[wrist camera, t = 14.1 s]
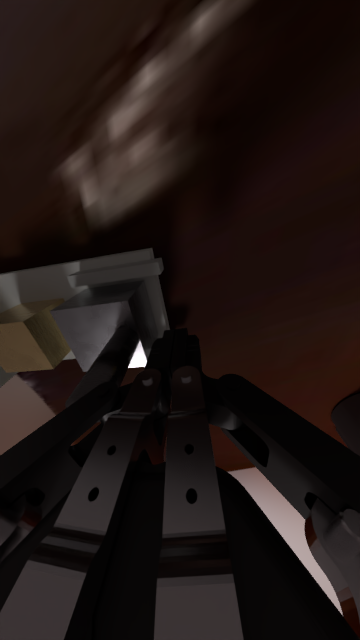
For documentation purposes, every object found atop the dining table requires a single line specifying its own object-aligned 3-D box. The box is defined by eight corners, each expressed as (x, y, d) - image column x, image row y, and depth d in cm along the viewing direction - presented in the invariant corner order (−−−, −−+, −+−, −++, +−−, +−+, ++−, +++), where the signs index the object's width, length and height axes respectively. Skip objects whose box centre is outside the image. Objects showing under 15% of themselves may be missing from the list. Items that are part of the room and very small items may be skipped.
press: (162, 246, 17) (147, 257, 11) (180, 340, 22) (176, 382, 16) (-25, 277, 19) (-116, 300, 14) (30, 355, 24) (-18, 396, 19)
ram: (144, 280, 17) (79, 360, 7) (158, 333, 19) (125, 443, 10) (85, 288, 17) (-48, 371, 8) (107, 339, 20) (29, 446, 10)
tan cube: (83, 337, 21) (53, 368, 16) (44, 341, 21) (6, 372, 17) (63, 297, 18) (22, 321, 14) (20, 303, 19) (-32, 327, 14)
